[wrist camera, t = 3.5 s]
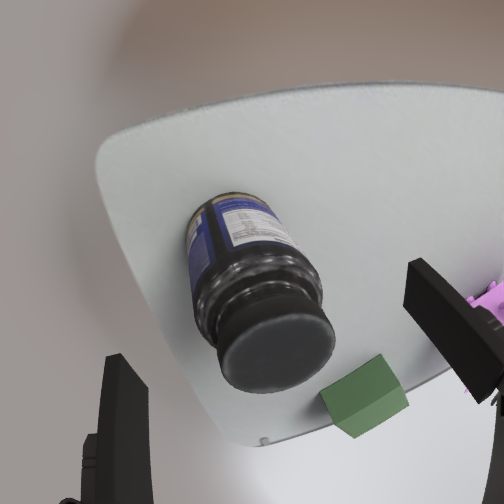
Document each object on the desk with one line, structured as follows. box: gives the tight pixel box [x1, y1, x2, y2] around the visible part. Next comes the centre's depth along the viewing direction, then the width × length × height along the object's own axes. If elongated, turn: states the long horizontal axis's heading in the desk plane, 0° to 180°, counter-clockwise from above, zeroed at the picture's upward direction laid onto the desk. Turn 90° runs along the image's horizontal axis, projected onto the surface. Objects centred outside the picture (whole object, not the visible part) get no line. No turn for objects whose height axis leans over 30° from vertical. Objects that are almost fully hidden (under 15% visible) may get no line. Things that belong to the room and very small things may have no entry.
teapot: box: [465, 281, 504, 393], centre depth 30 cm, size 15×13×11 cm
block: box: [320, 354, 409, 438], centre depth 33 cm, size 8×8×5 cm
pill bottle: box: [186, 192, 336, 394], centre depth 16 cm, size 6×6×11 cm
